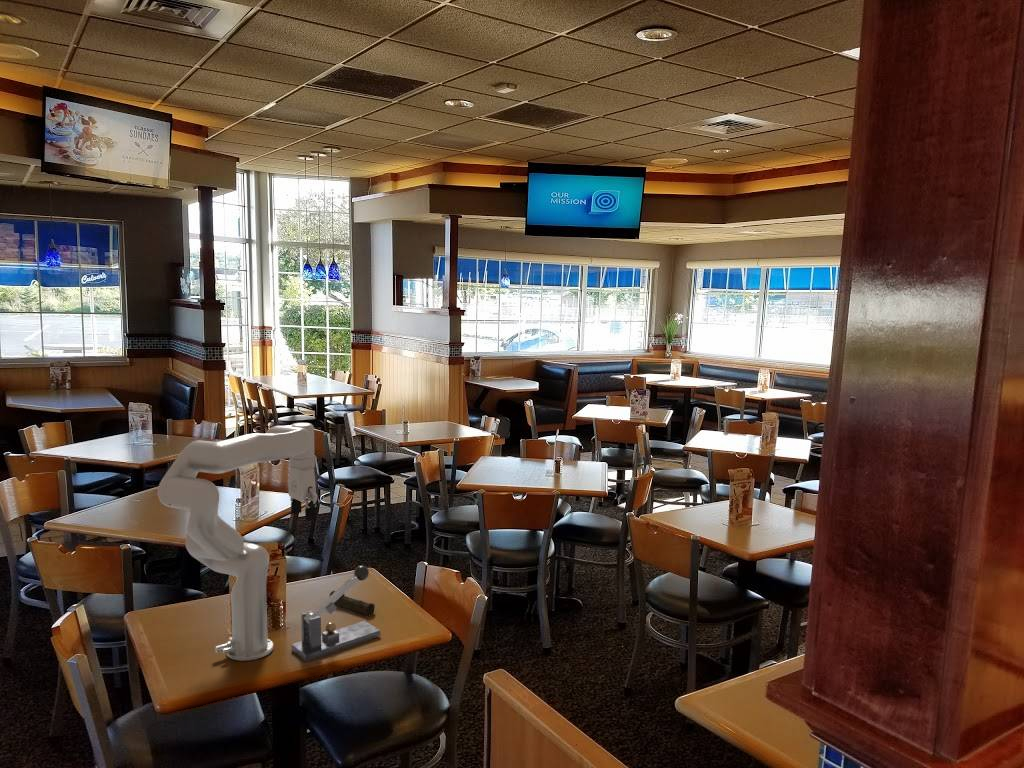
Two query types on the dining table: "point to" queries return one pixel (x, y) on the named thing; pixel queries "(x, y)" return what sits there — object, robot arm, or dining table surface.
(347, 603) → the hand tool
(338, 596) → the lever
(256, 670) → the dining table surface
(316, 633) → the nutcracker bench
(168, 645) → the dining table surface
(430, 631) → the dining table surface
